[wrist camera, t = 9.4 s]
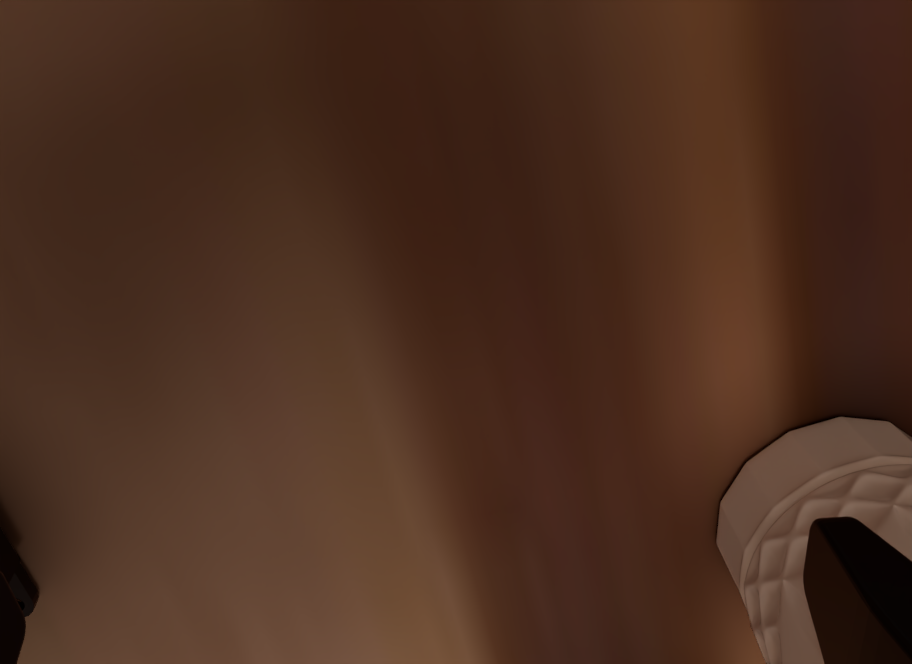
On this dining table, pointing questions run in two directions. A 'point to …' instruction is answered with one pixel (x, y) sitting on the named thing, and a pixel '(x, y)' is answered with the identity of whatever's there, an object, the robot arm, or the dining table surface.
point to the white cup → (809, 519)
